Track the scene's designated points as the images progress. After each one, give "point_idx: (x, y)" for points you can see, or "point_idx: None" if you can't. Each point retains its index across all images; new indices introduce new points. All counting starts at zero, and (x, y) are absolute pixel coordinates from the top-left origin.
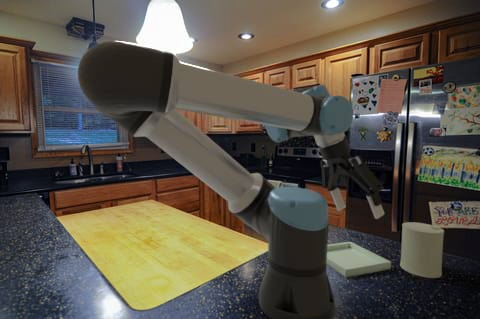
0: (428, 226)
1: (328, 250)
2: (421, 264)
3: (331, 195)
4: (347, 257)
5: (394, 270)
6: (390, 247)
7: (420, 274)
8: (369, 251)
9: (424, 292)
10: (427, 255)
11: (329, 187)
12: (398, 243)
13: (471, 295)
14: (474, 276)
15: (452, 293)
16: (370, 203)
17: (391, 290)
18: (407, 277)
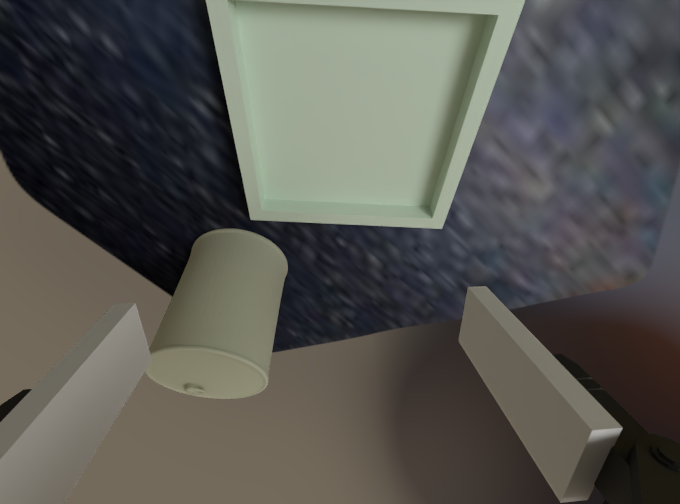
0: (217, 389)
1: (461, 104)
2: (192, 260)
3: (597, 387)
4: (363, 130)
5: (246, 205)
6: (374, 300)
7: (201, 237)
8: (340, 222)
9: (111, 172)
10: (176, 290)
11: (667, 493)
12: (383, 327)
13: (111, 249)
14: None
15: (115, 225)
16: (37, 394)
17: (110, 85)
18: (200, 202)
